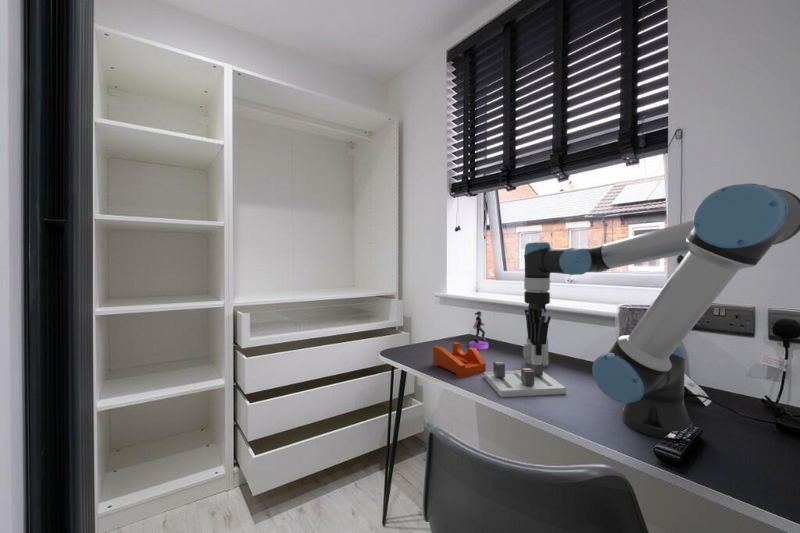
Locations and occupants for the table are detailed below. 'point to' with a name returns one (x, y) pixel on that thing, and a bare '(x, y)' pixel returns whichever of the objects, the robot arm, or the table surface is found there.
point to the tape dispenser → (459, 360)
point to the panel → (523, 385)
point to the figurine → (476, 343)
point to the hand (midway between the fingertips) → (536, 363)
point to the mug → (528, 355)
